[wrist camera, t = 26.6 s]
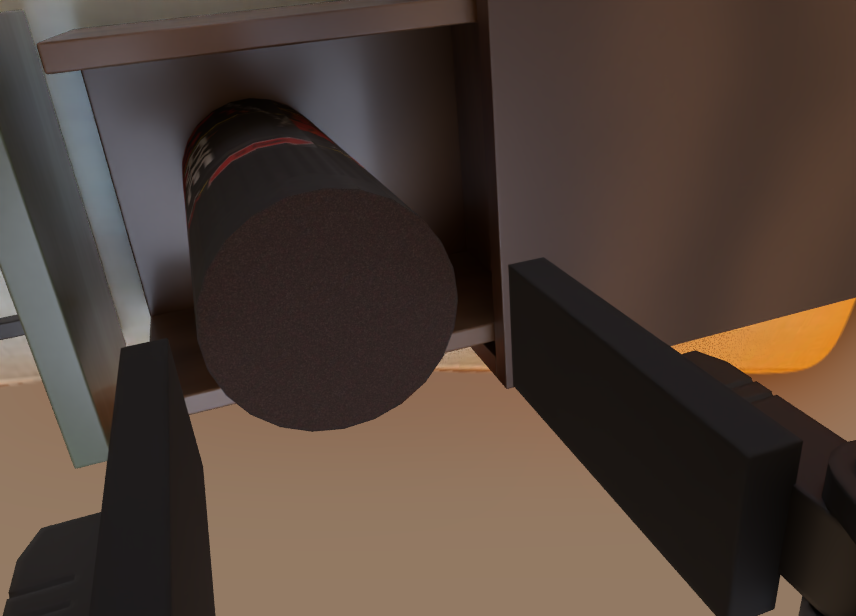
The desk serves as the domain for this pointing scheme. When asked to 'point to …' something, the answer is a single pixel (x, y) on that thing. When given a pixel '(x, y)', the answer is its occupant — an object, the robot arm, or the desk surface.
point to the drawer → (164, 149)
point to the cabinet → (672, 156)
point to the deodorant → (308, 273)
